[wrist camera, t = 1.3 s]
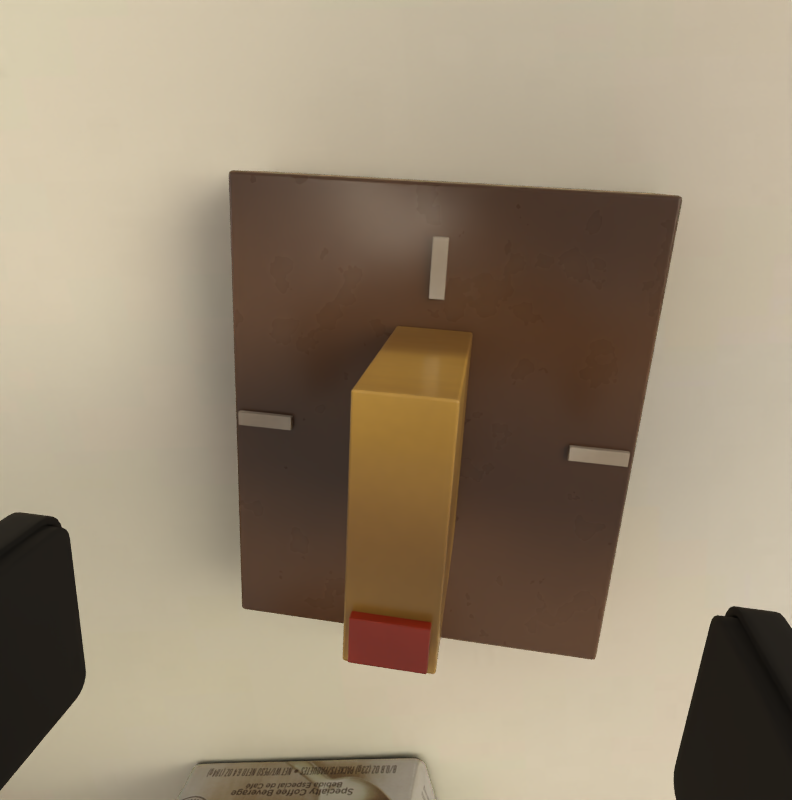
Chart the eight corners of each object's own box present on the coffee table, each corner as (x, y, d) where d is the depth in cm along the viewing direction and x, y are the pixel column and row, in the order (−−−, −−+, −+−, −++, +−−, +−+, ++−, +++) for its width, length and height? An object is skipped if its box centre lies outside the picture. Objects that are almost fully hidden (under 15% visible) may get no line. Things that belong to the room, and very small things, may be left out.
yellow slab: (396, 325, 15) (347, 393, 10) (472, 331, 15) (459, 405, 10) (385, 529, 17) (338, 669, 12) (453, 538, 17) (434, 685, 12)
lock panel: (264, 171, 17) (224, 169, 15) (657, 193, 16) (686, 196, 13) (269, 561, 21) (238, 612, 19) (584, 604, 20) (596, 665, 17)
